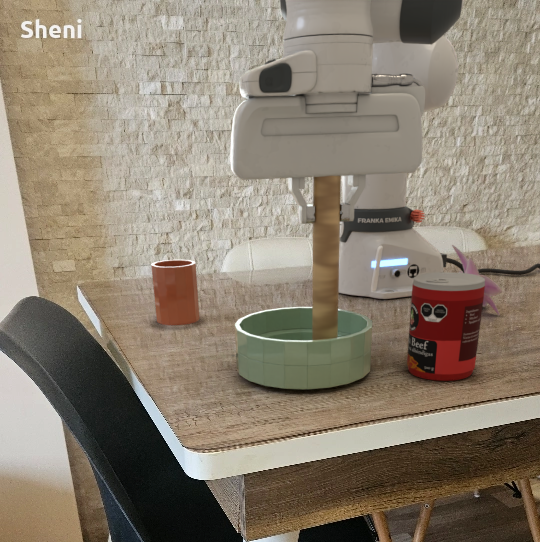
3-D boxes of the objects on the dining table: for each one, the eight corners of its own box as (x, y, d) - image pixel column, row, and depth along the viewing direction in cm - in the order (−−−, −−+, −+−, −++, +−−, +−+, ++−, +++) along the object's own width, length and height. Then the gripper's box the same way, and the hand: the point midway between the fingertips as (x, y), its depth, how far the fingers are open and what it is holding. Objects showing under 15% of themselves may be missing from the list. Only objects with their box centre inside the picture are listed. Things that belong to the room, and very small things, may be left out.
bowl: (349, 348, 90) (350, 303, 87) (388, 388, 76) (391, 336, 73) (230, 356, 87) (228, 311, 85) (247, 399, 73) (244, 346, 71)
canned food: (399, 363, 83) (405, 273, 78) (461, 360, 84) (471, 270, 79) (416, 383, 77) (424, 286, 71) (483, 380, 77) (496, 283, 72)
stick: (333, 342, 81) (337, 161, 72) (340, 350, 78) (344, 162, 69) (309, 344, 81) (309, 162, 71) (315, 351, 78) (316, 163, 69)
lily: (493, 333, 98) (528, 272, 96) (422, 298, 99) (454, 237, 97) (484, 337, 110) (514, 282, 108) (420, 305, 111) (449, 251, 109)
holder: (198, 316, 108) (193, 258, 103) (201, 326, 102) (196, 266, 97) (156, 319, 107) (151, 260, 102) (157, 329, 101) (151, 268, 97)
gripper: (415, 75, 71) (406, 214, 77) (224, 79, 68) (231, 223, 74) (438, 70, 65) (426, 220, 72) (231, 74, 62) (238, 230, 69)
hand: (325, 222), depth 73 cm, fingers closed on stick, 3 cm apart
